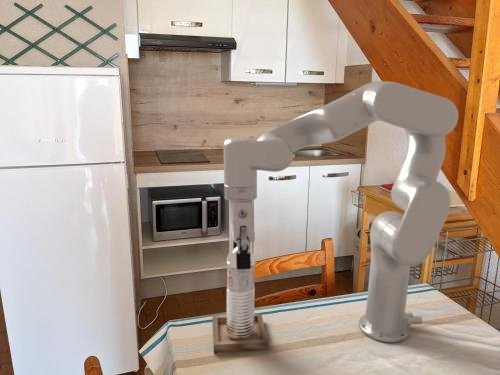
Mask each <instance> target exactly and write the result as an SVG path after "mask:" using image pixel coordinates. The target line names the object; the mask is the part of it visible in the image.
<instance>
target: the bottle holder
mask: <svg viewBox="0 0 500 375" xmlns="http://www.w3.org/2000/svg"><path fill="white" fill-rule="evenodd" d="M226 324H227V314H219V315H218V314H217V315H215V314H214V315H212V337H213V338H212V339H213V342H212V343H213V354H225V353H226V354H228V353H229V354H231V353H245V352H246V353H249V352H263V351H264V352H266V351H269V342H270V341H269V339H268V335H267V331H266V328H265V327H266V326H265V323H264V318H263V314H262V313H261V312H259V313H254V329H253V334H252V336H251V337H250V338H249V339H246V340H241V341H238V340H234V339H231V338H230V337H229V336H228V334H227V328H226V327H227V325H226Z"/></svg>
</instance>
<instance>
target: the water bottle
mask: <svg viewBox="0 0 500 375" xmlns="http://www.w3.org/2000/svg"><path fill="white" fill-rule="evenodd" d="M240 245H241V244H240ZM236 253H237V247H235V248H234V249H233V248H232V249H231V251H230V252H229V253H228V254H227V256H226V264H227V266H226V267H227V268H226V272H227V273H226V274H227V276H226V277H227V278H226V284H227V286H226V315H227V324H226V325H227V327H226V328H227V334H228V336H229V337H230V338H231V339H234V340H238V341H241V340H246V339H249V338H250V337H251V336H252V334H253V329H254V314H255V291H256V288H255V287H256V286H255V270H256V269H255V266H256V265H255V264H256V256H255V254H254V253H253V252H252V250H251V249H250V261H251V268H250V269H241V270H238V269H237V267H236Z"/></svg>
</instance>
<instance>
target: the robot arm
mask: <svg viewBox="0 0 500 375" xmlns="http://www.w3.org/2000/svg"><path fill="white" fill-rule="evenodd" d="M458 120H459V111H458V108H457V106H456V105H455V104H454V102H452V100H450V99H449V98H447V97H443V96H442V95H441V96H440V95H439V94H438V95H437V94H434V93H431V92H427V91H424V90H421V89H418V88H414V87H411V86H408V85H407V84H406V85H405V84H402V83H400V82H395V81H386V80H385V81H384V80H383V81H380V80H379V81H372V82H368V83H366V84H364V85H362V86H359V87H358V88H356V89H354V90H352V91H350V92H348V93H347V94H345V95H343V96H341V97H339V98H337V99H335V100H333V101H331V102H329V103H327V104H325V105H323V106H320V107H319V108H317V109H316V108H315V109H313V110H311V111H309V112H306V113H305V114H303V115H300V116H298V117H296V118H293V119H291V120H289V121H286V122H284V123H282V124H280V125H278V126H276V127H274V128H272V129H271V130H268V131H267V132H265V133H263V134H262V135H260V136H259V137H258V138H257V140H255V139H253V138H251V137H245V136H242V137H241V136H236V137H230V138H227V139H226V140H225V141H224V143H223V181H224V182H223V184H224V186H223V187H224V189H223V190H224V199H225V200H226V201H229V215H230V216H229V217H230V228H231V234H232V239H233V240H232V241H233V244H232V246H233V248H232V250H233V249H234V248H235V247H237V253H236V267H237V269H238V270H241V269H250V268H251V261H250V250H251V249H250V243H254V242H255V241H256V237H255V234H256V233H255V211H254V209H255V208H254V201H255V200H256V199H257V198H258V171H263V172H270V173H276V172H277V173H278V172H281V171H284V170H286V169H287V168H289V166H291V164H292V162H293V159H294V152H297V151H298V150H301V149H303V148H306V147H310V146H312V145H318V144H319V145H320V144H329V143H334V142H337V141H340V140H342V139H344V138H346V137H347V136H350V135H352V134H355V133H356V132H357V131H360V130H361V129H364V128H366V127H367V126H369V125H372V124H373V123H375V122H378V121H380V122H383V123H386V124H389V125H392V126H396V127H397V128H401V129H404V131H405V135H406V137H407V147H406V152H405V154H404V155H405V156H404V158H403V160H402V162H401V165H400V168H399V171H398V172H397V175H396V178H395V180H394V182H393V184H392V187H391V191H390V198H391V200H392V202H393V203H394V204H395V206H397V207H398V208H400V209H401V210H402V211H404V213H403V214H402V213H400V212H397V211H391V210H389V211H383V212H381V213H379V214H378V215H377V216H376V217H375V218H374V220H372V222H371V226H370V231H369V239H370V264H369V265H370V266H369V277H368V286H367V296H366V297H367V298H366V307H365V308H366V310H365V311H366V312H365V314H363V315H362V316H361V317H360V318H359V322H358V327H359V328H360V331H361V332H362V333H363V334H364V335H366V336H368V337H369V338H371V339H373V340H374V341H375V340H376V341H379V342H385V343H398V342H403V341H405V340H406V339H407V338H408V337H409V335H410V326H411V325H422V324H423V318H422V316H419V315H418V316H414V315H413V312H406V307H407V306H406V305H407V298H408V291H409V290H408V289H409V279H410V272H411V267H415V266H419V265H420V264H423V263H424V261H426V260H427V259H428V257H429V256H430V254H431V253H432V251H433V249H434V247H435V245H436V242H437V240H438V238H439V235H440V234H441V232H442V229H443V227H444V224H445V223H446V220H447V218H448V216H449V213H450V209H451V201H452V200H451V195H450V193H449V190H448V189H447V187H446V186H445V185H444V184H443V183H441V182H440V181H438V177H439V173H440V171H441V168H442V166H443V162H444V160H445V156H446V152H447V151H446V148H447V147H446V146H447V144H446V138H445V136H446V135H448V134H450V133H451V132H452V131H453V130H454V129H455V128H456V126H457V124H458ZM240 244H241V245H240Z"/></svg>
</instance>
